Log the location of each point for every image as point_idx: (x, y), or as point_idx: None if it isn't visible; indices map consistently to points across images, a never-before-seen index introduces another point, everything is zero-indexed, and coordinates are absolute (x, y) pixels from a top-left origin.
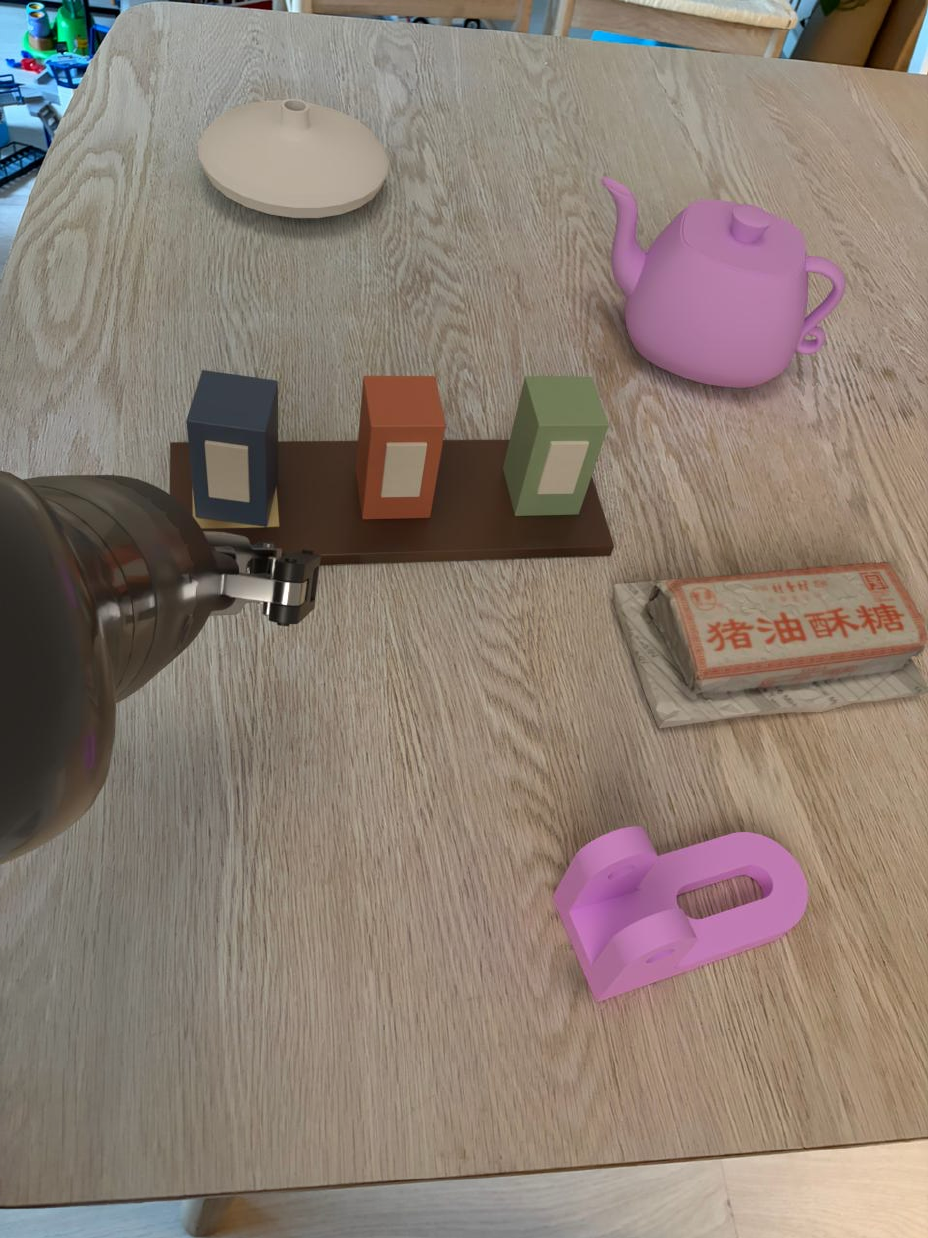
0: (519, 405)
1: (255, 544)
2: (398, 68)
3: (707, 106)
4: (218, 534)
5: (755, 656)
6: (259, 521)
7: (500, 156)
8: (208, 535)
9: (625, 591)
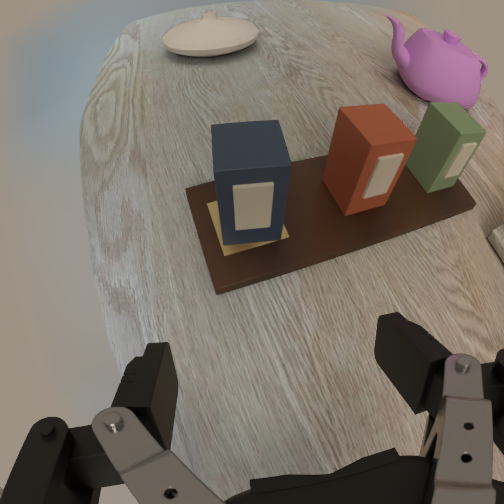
0: (424, 121)
1: (416, 348)
2: (239, 10)
3: (362, 14)
4: (482, 440)
5: None
6: (275, 237)
7: (299, 27)
8: (491, 471)
9: (498, 233)
